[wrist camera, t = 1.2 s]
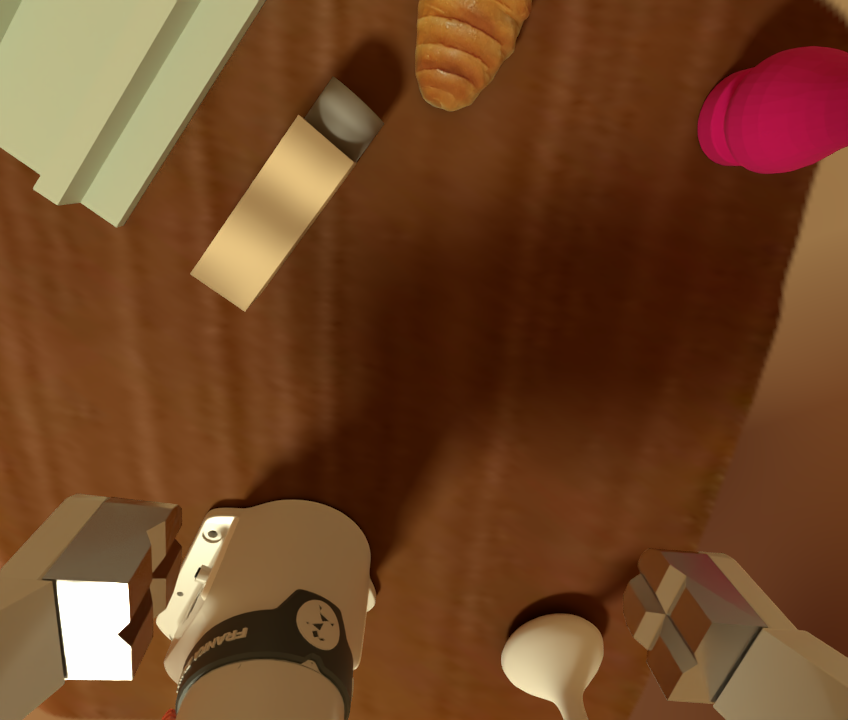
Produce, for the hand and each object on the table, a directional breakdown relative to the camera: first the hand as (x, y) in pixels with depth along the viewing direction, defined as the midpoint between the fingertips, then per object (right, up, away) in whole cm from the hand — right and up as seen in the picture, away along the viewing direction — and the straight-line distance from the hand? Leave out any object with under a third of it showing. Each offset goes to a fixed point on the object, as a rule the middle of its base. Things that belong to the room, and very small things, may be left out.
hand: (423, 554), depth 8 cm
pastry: (+3, +25, +23) cm, 34 cm away
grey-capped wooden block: (-9, +15, +26) cm, 31 cm away
